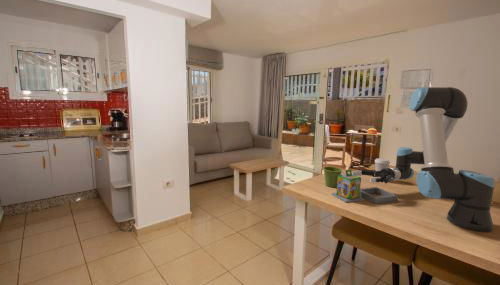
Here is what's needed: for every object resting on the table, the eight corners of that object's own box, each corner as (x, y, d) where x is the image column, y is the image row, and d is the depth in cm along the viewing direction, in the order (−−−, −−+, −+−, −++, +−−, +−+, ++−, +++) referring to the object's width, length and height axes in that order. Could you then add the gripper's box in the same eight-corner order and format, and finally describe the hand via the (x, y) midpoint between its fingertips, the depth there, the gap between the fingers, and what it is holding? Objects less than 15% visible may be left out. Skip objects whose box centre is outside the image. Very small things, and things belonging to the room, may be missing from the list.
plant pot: (318, 185, 155) (319, 168, 154) (327, 181, 163) (329, 165, 161) (335, 190, 147) (336, 172, 145) (344, 186, 154) (345, 169, 153)
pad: (364, 200, 131) (364, 198, 131) (345, 202, 127) (345, 200, 127) (348, 192, 142) (349, 191, 142) (331, 194, 139) (331, 192, 138)
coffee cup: (390, 182, 164) (392, 161, 162) (375, 181, 165) (377, 160, 163) (384, 178, 173) (387, 158, 171) (370, 177, 175) (372, 157, 172)
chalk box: (349, 200, 128) (352, 173, 126) (335, 194, 136) (337, 169, 134) (360, 197, 133) (362, 171, 131) (346, 192, 141) (348, 167, 138)
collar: (397, 201, 131) (398, 195, 130) (375, 203, 126) (376, 198, 126) (375, 191, 145) (376, 187, 145) (355, 193, 141) (355, 189, 140)
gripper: (408, 187, 131) (378, 190, 124) (372, 174, 154) (345, 177, 148) (410, 173, 130) (379, 176, 123) (373, 163, 153) (346, 165, 146)
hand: (360, 176), depth 135 cm, fingers open, 13 cm apart
